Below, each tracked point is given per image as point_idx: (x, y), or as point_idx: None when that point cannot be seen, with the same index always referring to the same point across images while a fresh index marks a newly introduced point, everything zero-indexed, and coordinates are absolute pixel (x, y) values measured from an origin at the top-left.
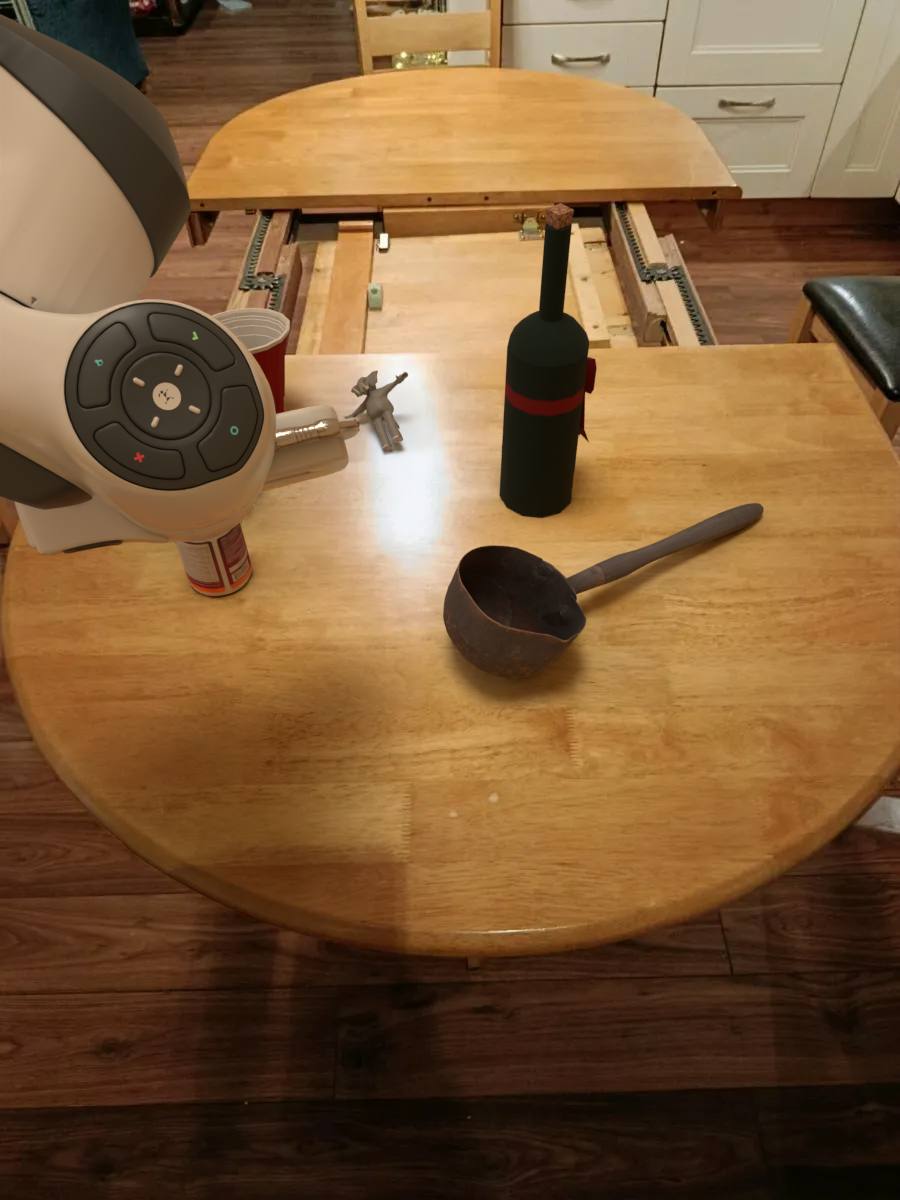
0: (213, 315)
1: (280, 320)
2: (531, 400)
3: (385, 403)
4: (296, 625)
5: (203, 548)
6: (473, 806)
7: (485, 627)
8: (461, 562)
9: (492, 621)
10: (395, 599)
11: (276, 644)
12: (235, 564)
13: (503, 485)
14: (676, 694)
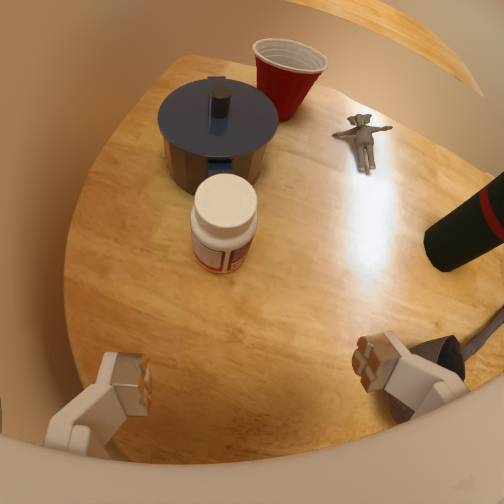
0: (271, 38)
1: (319, 57)
2: (501, 226)
3: (371, 139)
4: (272, 325)
5: (216, 253)
6: None
7: None
8: (431, 358)
9: None
10: (350, 320)
11: (252, 340)
12: (237, 260)
13: (433, 242)
14: None
